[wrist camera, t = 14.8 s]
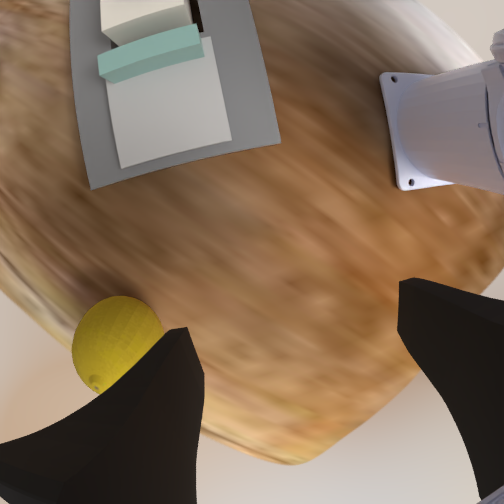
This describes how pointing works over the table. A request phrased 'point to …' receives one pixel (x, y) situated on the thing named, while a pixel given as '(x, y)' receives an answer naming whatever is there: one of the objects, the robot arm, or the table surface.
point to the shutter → (164, 95)
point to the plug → (142, 18)
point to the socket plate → (230, 74)
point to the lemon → (113, 340)
